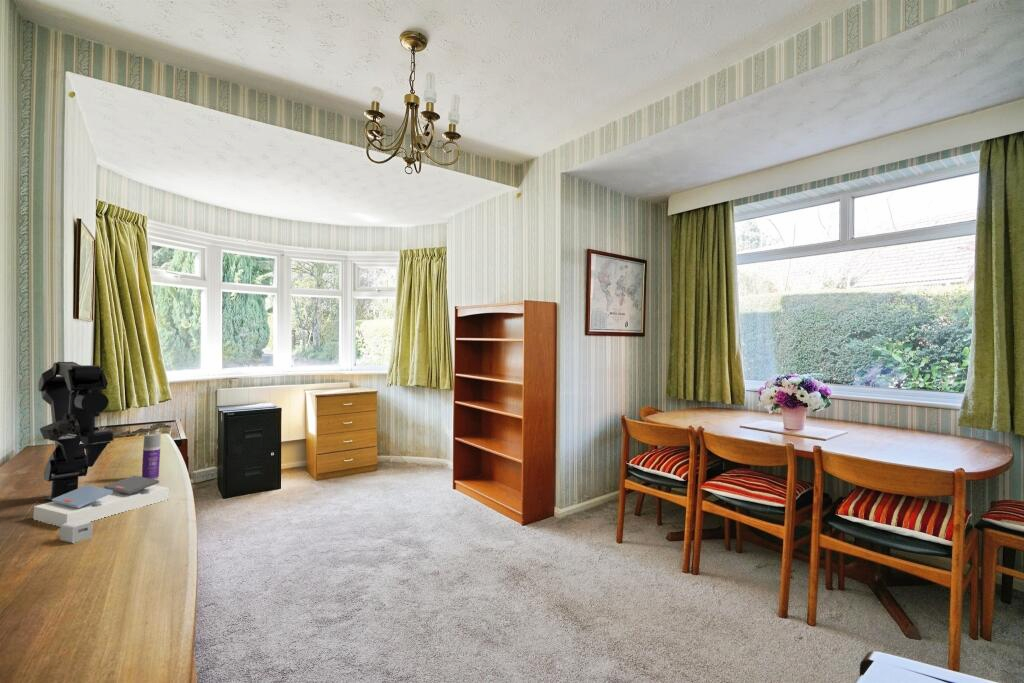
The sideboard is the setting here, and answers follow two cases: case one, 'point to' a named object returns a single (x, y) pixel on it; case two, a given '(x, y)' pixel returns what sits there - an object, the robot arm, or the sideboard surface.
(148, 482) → the rocker charcoal
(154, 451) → the container
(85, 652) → the sideboard surface
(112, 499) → the white long base
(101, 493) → the plate
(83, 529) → the usb wall charger
